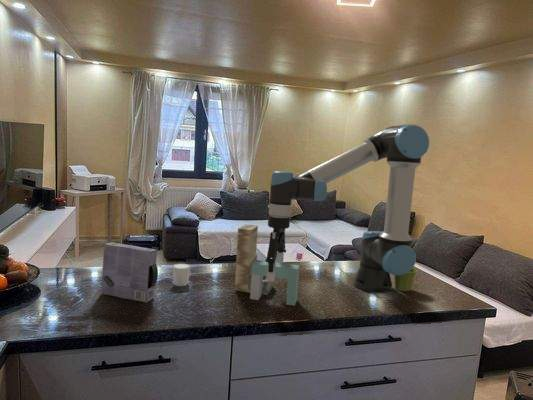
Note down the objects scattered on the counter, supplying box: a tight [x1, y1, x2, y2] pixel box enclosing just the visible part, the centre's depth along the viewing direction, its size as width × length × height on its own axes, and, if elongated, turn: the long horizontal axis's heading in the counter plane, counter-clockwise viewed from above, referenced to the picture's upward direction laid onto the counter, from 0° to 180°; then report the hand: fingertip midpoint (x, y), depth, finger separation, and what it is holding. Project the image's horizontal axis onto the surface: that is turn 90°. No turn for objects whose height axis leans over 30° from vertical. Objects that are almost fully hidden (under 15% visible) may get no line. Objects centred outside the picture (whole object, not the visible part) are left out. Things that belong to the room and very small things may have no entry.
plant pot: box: [394, 267, 418, 292], centre depth 159 cm, size 9×9×9 cm
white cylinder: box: [171, 263, 191, 287], centre depth 149 cm, size 7×7×7 cm
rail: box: [249, 259, 300, 306], centre depth 138 cm, size 16×5×13 cm, turn 76°
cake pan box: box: [100, 241, 159, 304], centre depth 132 cm, size 19×5×18 cm, turn 74°
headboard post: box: [234, 224, 274, 296], centre depth 147 cm, size 12×10×24 cm
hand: (274, 275), depth 137 cm, fingers open, 13 cm apart
